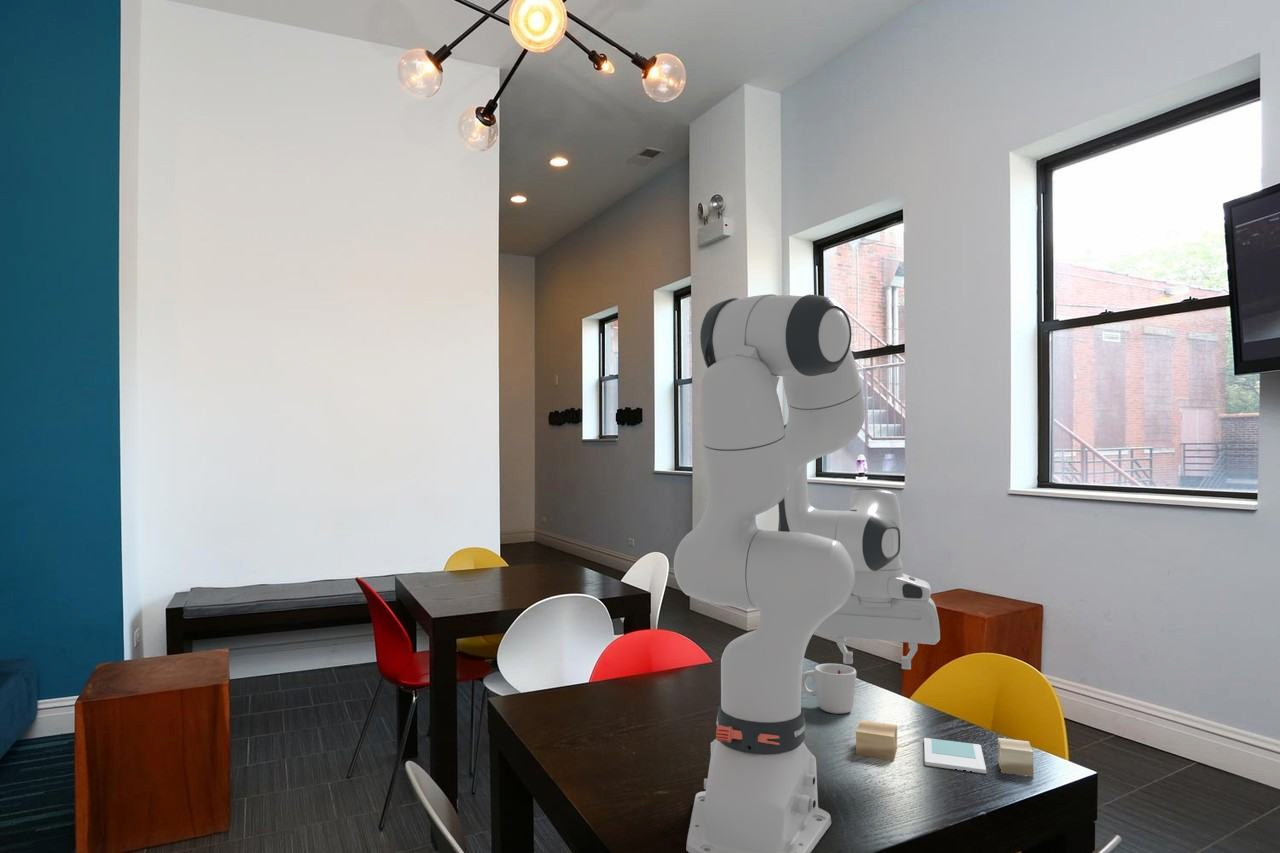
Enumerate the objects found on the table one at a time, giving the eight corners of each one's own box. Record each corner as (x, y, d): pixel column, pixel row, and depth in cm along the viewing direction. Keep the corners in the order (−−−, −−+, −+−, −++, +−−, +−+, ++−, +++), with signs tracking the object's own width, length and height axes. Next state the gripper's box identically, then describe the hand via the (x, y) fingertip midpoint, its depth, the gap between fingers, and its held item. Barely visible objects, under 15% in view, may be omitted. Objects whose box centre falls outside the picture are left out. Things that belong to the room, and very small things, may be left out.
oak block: (894, 761, 122) (893, 736, 122) (856, 755, 124) (855, 731, 124) (897, 748, 127) (897, 725, 127) (860, 743, 130) (860, 720, 130)
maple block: (1033, 778, 116) (1033, 751, 116) (1001, 773, 117) (1001, 747, 117) (1029, 766, 120) (1028, 741, 120) (998, 762, 121) (997, 737, 122)
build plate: (986, 773, 117) (986, 769, 117) (924, 765, 120) (924, 761, 120) (980, 748, 127) (980, 744, 127) (924, 741, 130) (924, 737, 130)
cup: (795, 710, 146) (795, 669, 146) (806, 699, 153) (806, 659, 153) (851, 719, 141) (851, 676, 141) (860, 707, 148) (860, 666, 148)
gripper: (811, 583, 128) (812, 664, 127) (939, 590, 121) (941, 676, 120) (815, 577, 134) (816, 655, 133) (938, 583, 127) (940, 666, 126)
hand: (876, 665), depth 127 cm, fingers open, 8 cm apart
